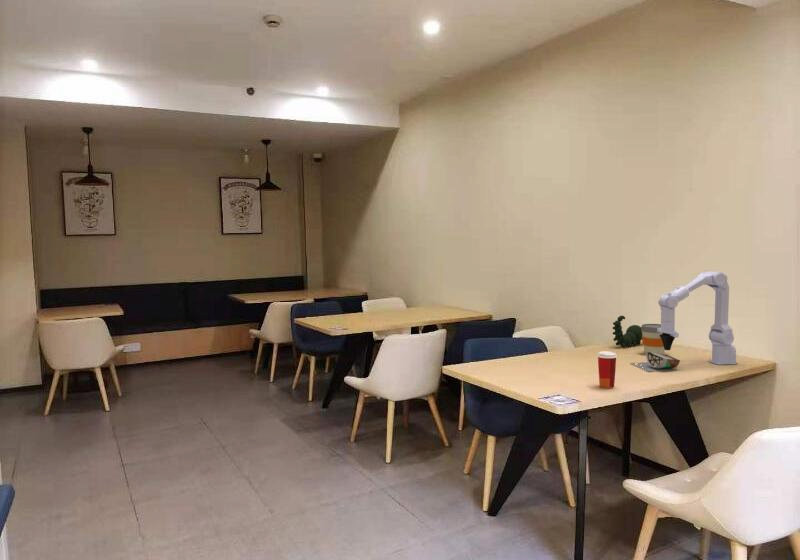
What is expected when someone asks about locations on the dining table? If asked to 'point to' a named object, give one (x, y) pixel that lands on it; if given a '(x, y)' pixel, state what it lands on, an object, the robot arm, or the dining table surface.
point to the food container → (661, 360)
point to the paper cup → (606, 368)
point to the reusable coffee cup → (652, 338)
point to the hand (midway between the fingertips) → (667, 350)
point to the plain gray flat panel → (650, 368)
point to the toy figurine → (627, 334)
